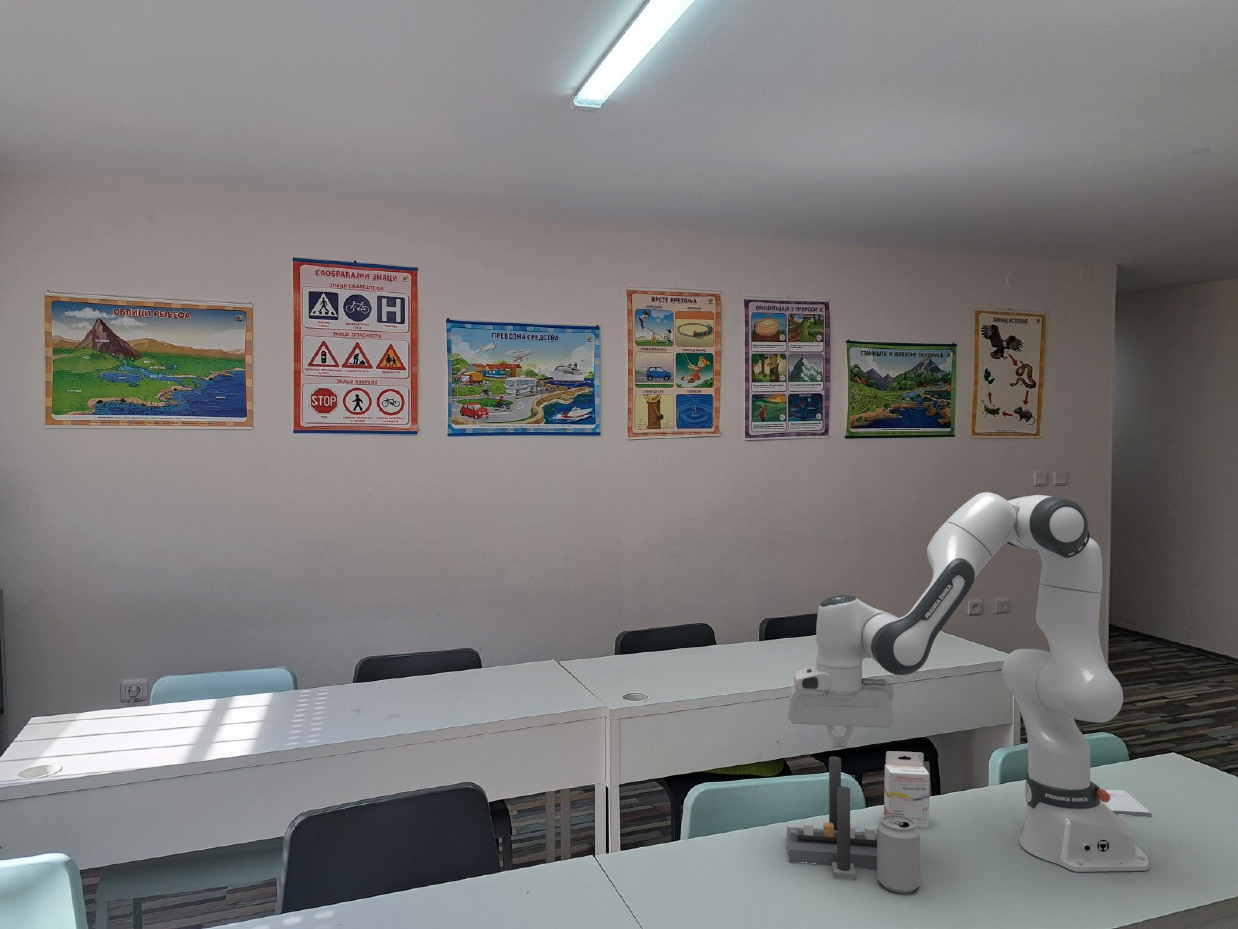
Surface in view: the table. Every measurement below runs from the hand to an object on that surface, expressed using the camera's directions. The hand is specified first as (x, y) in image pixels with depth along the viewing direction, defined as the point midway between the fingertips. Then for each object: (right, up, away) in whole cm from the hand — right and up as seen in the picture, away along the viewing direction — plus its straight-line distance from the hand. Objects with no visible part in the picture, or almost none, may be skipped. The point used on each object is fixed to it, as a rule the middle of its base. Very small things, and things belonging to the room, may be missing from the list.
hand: (839, 747), depth 163 cm
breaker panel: (0, -21, 0) cm, 21 cm away
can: (+8, -22, -12) cm, 26 cm away
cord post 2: (-1, -21, -8) cm, 23 cm away
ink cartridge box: (+18, -22, +14) cm, 32 cm away
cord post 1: (+1, -21, +8) cm, 23 cm away
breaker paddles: (0, -18, 0) cm, 18 cm away
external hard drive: (+70, -22, +24) cm, 78 cm away
